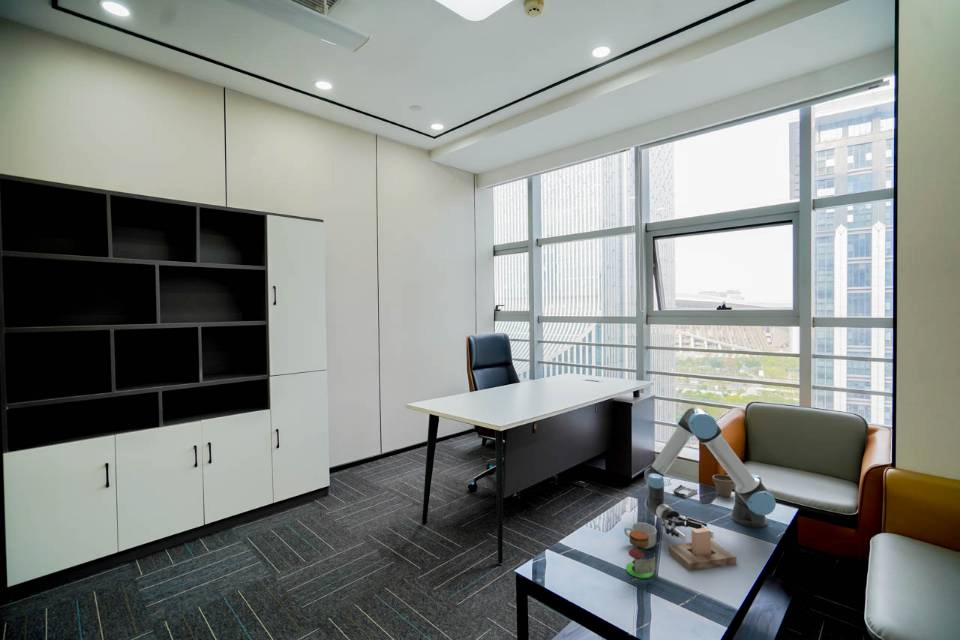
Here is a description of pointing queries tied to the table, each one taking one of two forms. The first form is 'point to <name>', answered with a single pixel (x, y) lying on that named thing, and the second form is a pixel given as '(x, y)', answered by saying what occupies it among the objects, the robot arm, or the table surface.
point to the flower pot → (723, 485)
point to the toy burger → (640, 556)
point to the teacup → (647, 529)
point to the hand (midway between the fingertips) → (698, 537)
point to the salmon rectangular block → (701, 541)
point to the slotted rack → (693, 562)
